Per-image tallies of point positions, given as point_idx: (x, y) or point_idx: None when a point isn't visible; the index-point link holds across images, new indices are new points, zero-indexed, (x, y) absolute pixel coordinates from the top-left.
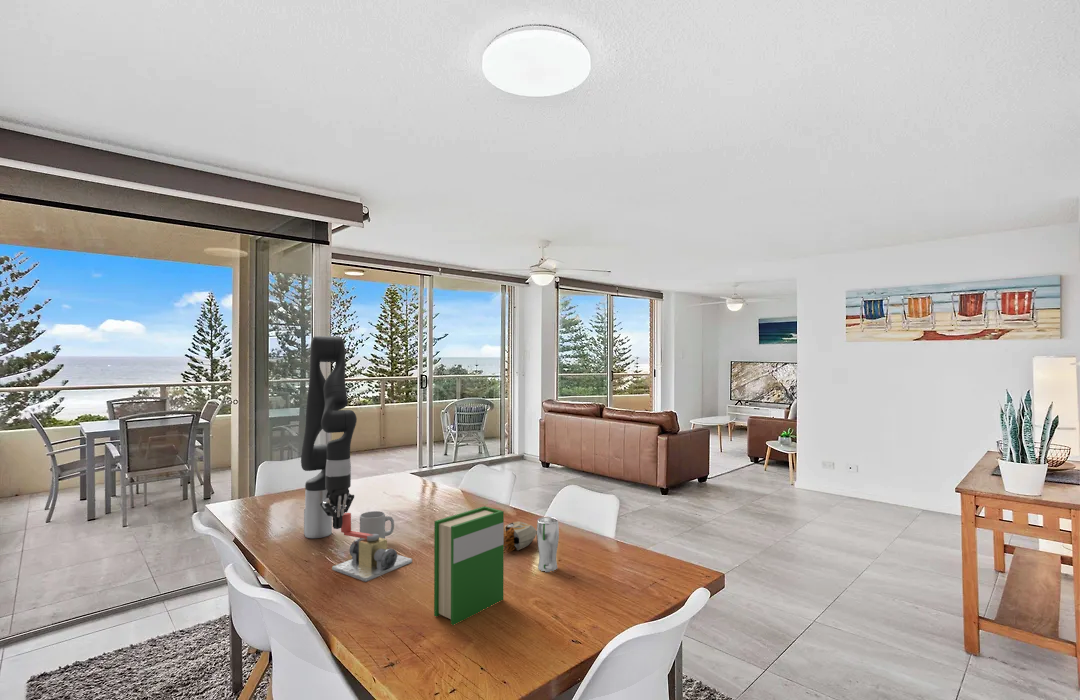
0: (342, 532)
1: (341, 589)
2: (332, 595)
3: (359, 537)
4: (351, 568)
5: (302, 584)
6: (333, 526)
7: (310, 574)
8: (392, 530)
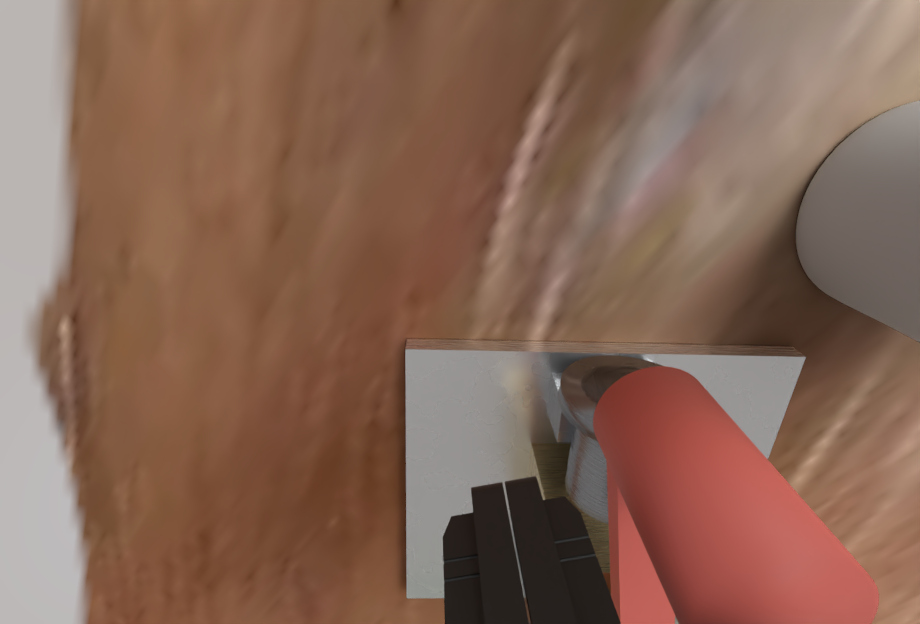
0: (593, 421)
1: (283, 562)
2: (219, 578)
3: (610, 559)
4: (454, 463)
5: (161, 375)
6: (449, 537)
7: (270, 285)
8: None
